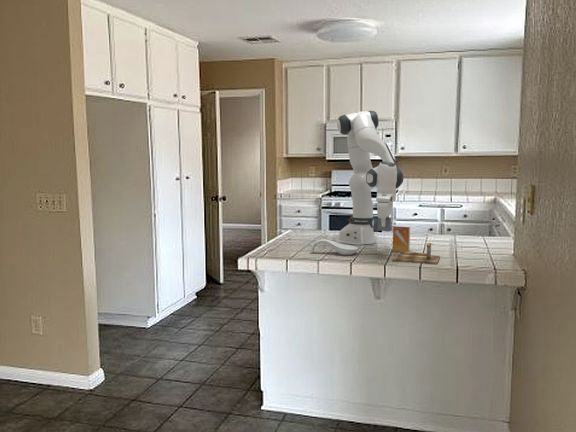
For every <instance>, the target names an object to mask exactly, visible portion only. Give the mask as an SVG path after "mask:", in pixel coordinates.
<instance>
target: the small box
mask: <svg viewBox="0 0 576 432" xmlns="http://www.w3.org/2000/svg"><path fill="white" fill-rule="evenodd" d="M410 242H411V225H408V224H394V225H392V252H396V253H397V252H398V253H400V252H401V251H402V252H410V245H411V243H410Z"/></svg>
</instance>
